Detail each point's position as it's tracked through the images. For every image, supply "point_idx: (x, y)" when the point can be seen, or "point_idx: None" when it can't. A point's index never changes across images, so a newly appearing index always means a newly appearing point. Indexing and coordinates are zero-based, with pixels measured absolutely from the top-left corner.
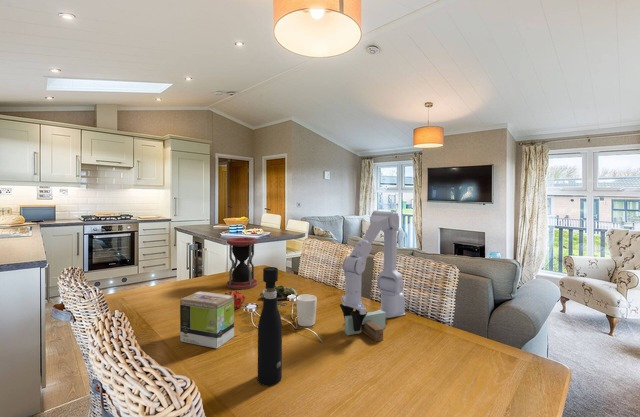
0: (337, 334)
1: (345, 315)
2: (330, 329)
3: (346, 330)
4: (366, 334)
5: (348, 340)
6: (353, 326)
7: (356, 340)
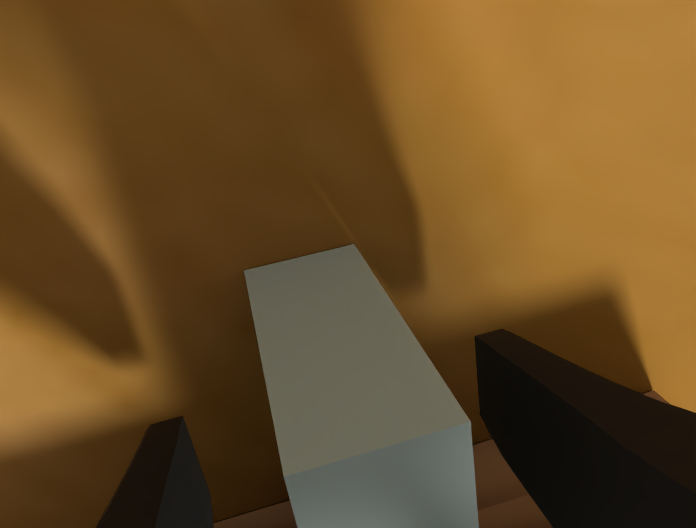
0: (312, 105)
1: (577, 427)
2: (531, 29)
3: (298, 287)
4: (230, 518)
5: (47, 240)
6: (163, 465)
7: (42, 364)
